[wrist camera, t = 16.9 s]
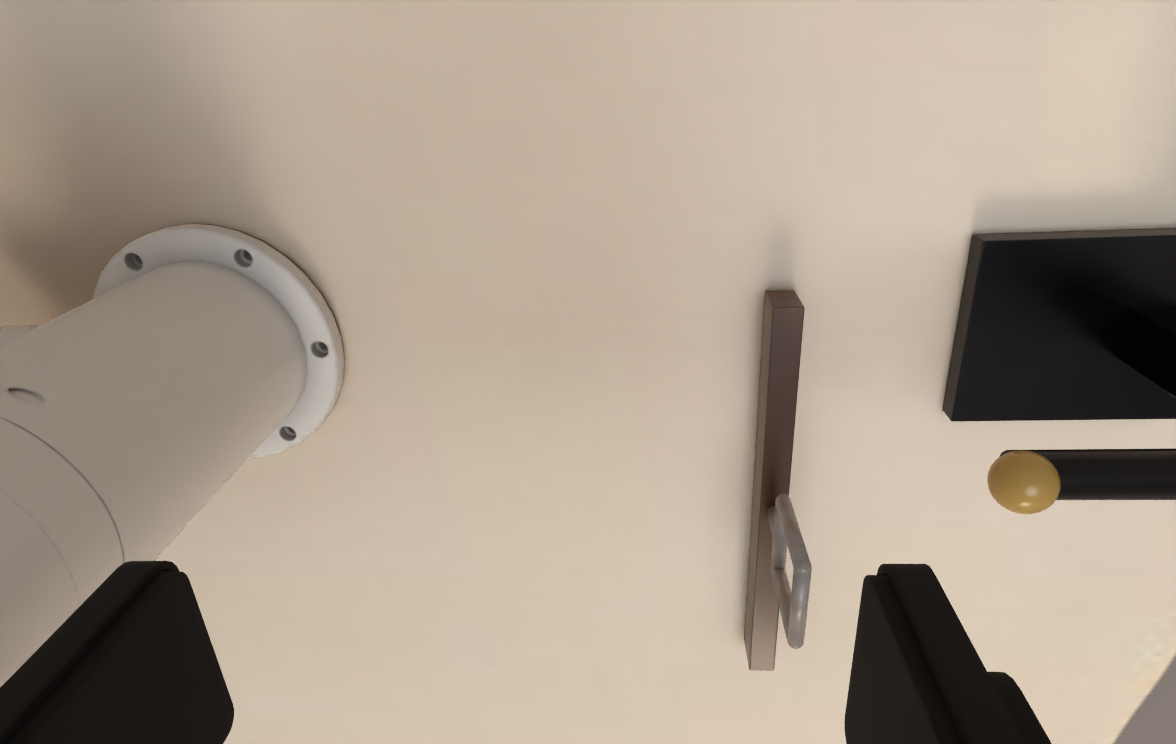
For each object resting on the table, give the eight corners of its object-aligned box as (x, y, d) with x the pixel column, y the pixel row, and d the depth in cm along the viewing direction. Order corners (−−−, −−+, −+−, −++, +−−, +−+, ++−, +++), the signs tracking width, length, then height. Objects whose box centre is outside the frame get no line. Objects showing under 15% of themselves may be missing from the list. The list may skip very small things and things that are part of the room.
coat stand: (862, 411, 37) (996, 642, 23) (883, 236, 34) (1057, 387, 19) (1174, 407, 36) (1515, 649, 22) (1232, 225, 32) (1688, 377, 18)
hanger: (744, 639, 44) (768, 785, 36) (764, 290, 35) (804, 375, 26) (767, 639, 44) (797, 785, 36) (794, 290, 35) (844, 374, 26)
